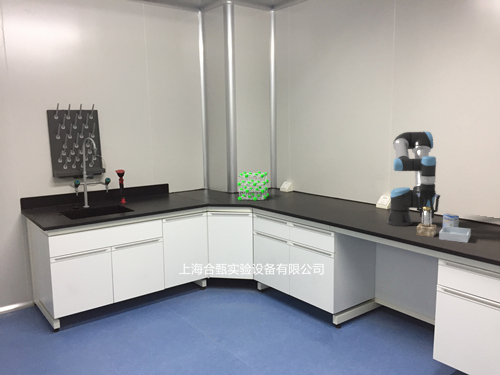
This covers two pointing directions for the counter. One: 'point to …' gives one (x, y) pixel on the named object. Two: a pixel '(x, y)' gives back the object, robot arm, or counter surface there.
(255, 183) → the molecular structure model
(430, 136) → the robot arm
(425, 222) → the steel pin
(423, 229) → the holder block
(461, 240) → the tray
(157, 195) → the counter surface
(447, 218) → the medicine box
